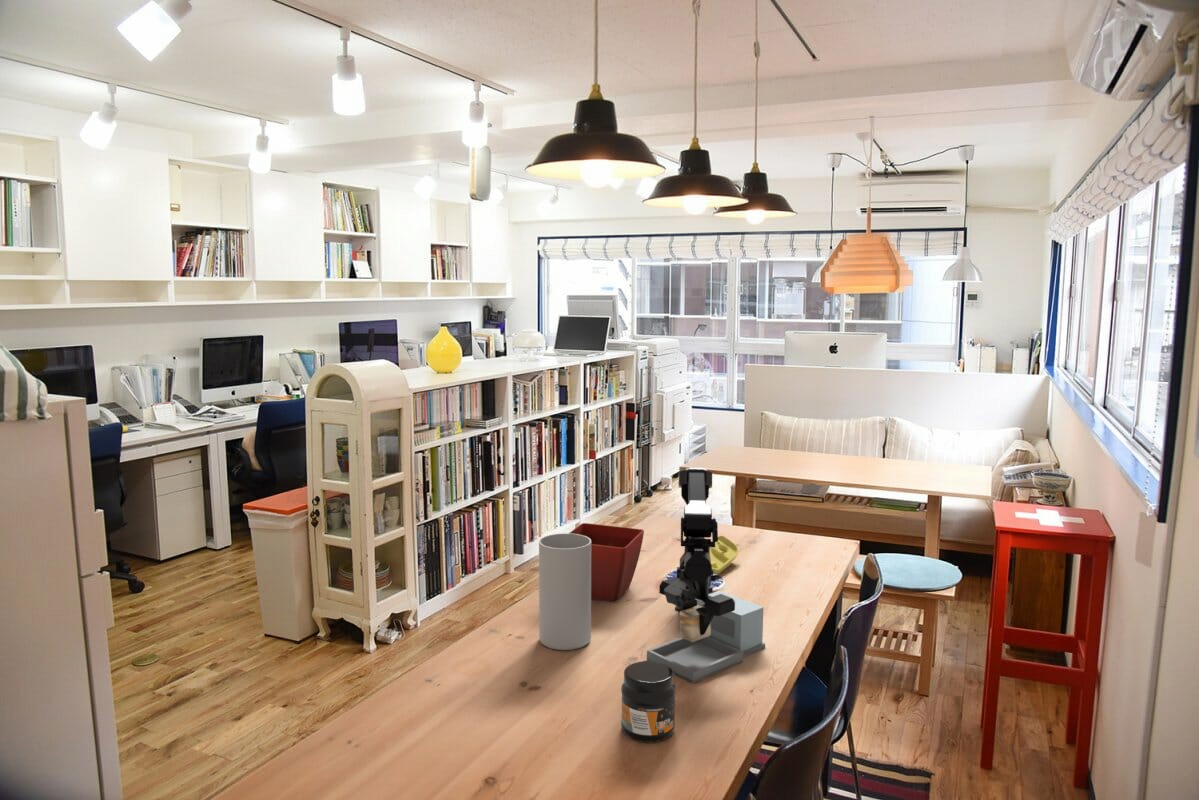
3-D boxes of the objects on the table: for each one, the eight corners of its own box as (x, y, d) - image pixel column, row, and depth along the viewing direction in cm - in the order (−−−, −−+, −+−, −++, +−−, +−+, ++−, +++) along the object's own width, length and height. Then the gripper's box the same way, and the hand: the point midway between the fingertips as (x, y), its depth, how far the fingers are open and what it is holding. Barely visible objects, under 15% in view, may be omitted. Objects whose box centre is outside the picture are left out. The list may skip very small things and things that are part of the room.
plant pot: (644, 585, 242) (645, 528, 239) (624, 609, 224) (625, 548, 221) (582, 577, 248) (582, 522, 245) (558, 600, 230) (558, 540, 228)
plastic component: (716, 571, 247) (689, 552, 251) (706, 590, 250) (680, 571, 254) (744, 549, 263) (718, 531, 267) (735, 567, 266) (709, 549, 270)
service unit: (693, 637, 206) (694, 598, 204) (718, 627, 211) (718, 589, 210) (740, 657, 194) (741, 616, 193) (765, 647, 200) (766, 607, 199)
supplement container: (635, 749, 156) (636, 688, 154) (612, 722, 165) (612, 665, 164) (685, 737, 160) (686, 678, 158) (659, 712, 169) (660, 655, 168)
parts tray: (646, 660, 193) (646, 650, 192) (696, 641, 203) (696, 631, 203) (692, 683, 182) (693, 672, 181) (743, 662, 192) (743, 651, 192)
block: (679, 636, 191) (679, 611, 190) (697, 629, 195) (698, 605, 194) (692, 642, 188) (692, 616, 187) (710, 635, 192) (711, 610, 191)
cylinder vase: (599, 635, 206) (599, 537, 203) (576, 655, 195) (576, 551, 192) (554, 626, 212) (554, 530, 208) (529, 645, 200) (529, 544, 197)
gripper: (642, 562, 191) (641, 627, 193) (702, 585, 177) (701, 655, 179) (676, 553, 198) (675, 615, 201) (737, 573, 184) (735, 641, 186)
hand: (695, 631), depth 192 cm, fingers closed on block, 4 cm apart
